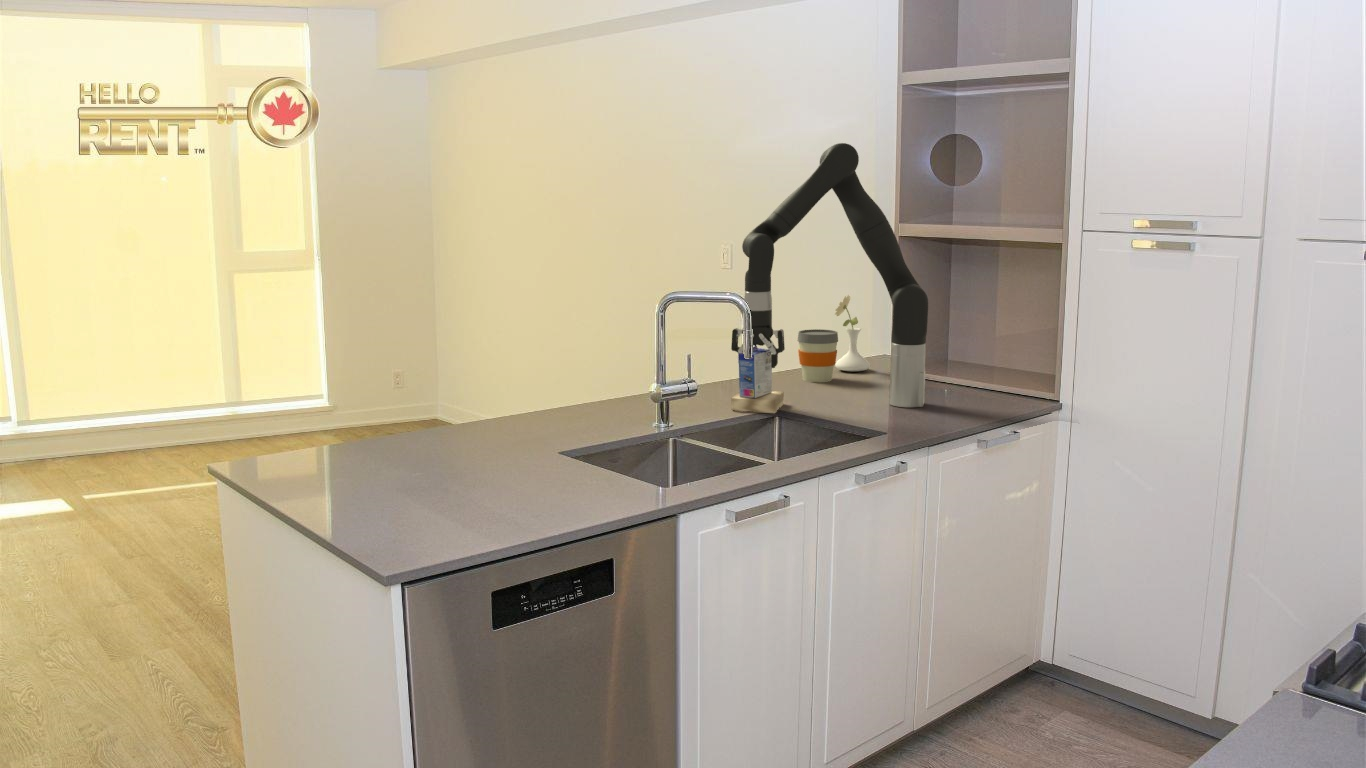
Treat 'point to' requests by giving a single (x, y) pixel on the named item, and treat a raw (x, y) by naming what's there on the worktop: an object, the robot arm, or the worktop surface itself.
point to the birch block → (758, 402)
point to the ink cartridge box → (755, 373)
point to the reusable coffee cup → (817, 354)
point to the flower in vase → (851, 344)
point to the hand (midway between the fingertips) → (757, 367)
